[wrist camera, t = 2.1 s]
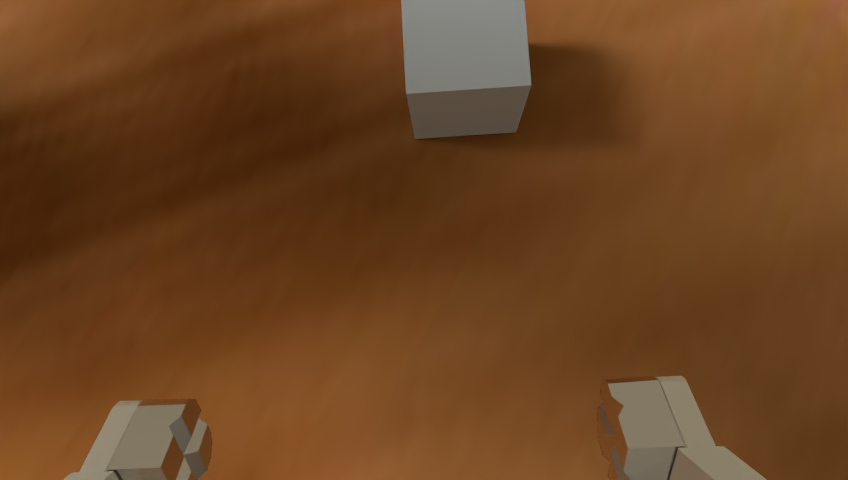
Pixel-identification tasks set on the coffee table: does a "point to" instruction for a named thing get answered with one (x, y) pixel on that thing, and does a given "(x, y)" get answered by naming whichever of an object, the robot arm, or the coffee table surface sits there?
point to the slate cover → (465, 66)
